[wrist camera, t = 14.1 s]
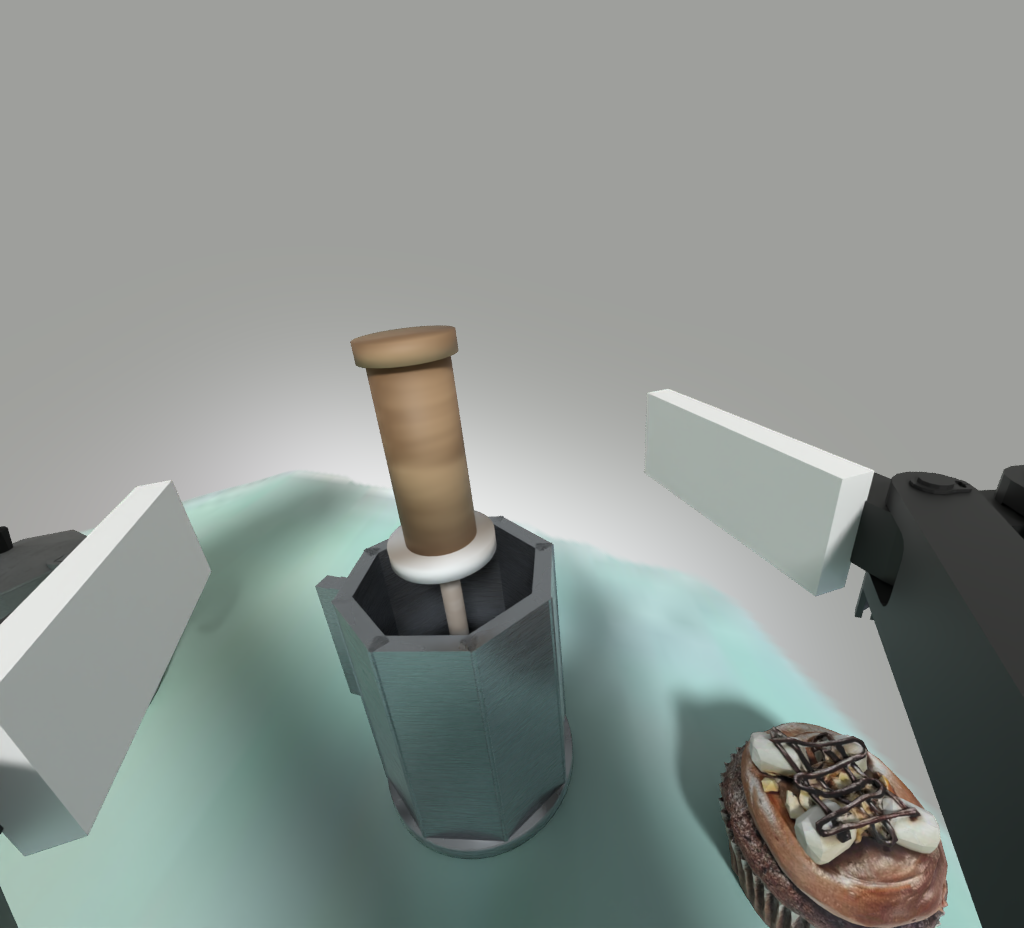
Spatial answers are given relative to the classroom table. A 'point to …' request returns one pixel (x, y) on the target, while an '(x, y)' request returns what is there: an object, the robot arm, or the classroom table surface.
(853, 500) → the robot arm
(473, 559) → the plunger
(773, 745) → the cupcake
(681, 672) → the classroom table surface
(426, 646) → the press carafe
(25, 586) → the coffeepot
